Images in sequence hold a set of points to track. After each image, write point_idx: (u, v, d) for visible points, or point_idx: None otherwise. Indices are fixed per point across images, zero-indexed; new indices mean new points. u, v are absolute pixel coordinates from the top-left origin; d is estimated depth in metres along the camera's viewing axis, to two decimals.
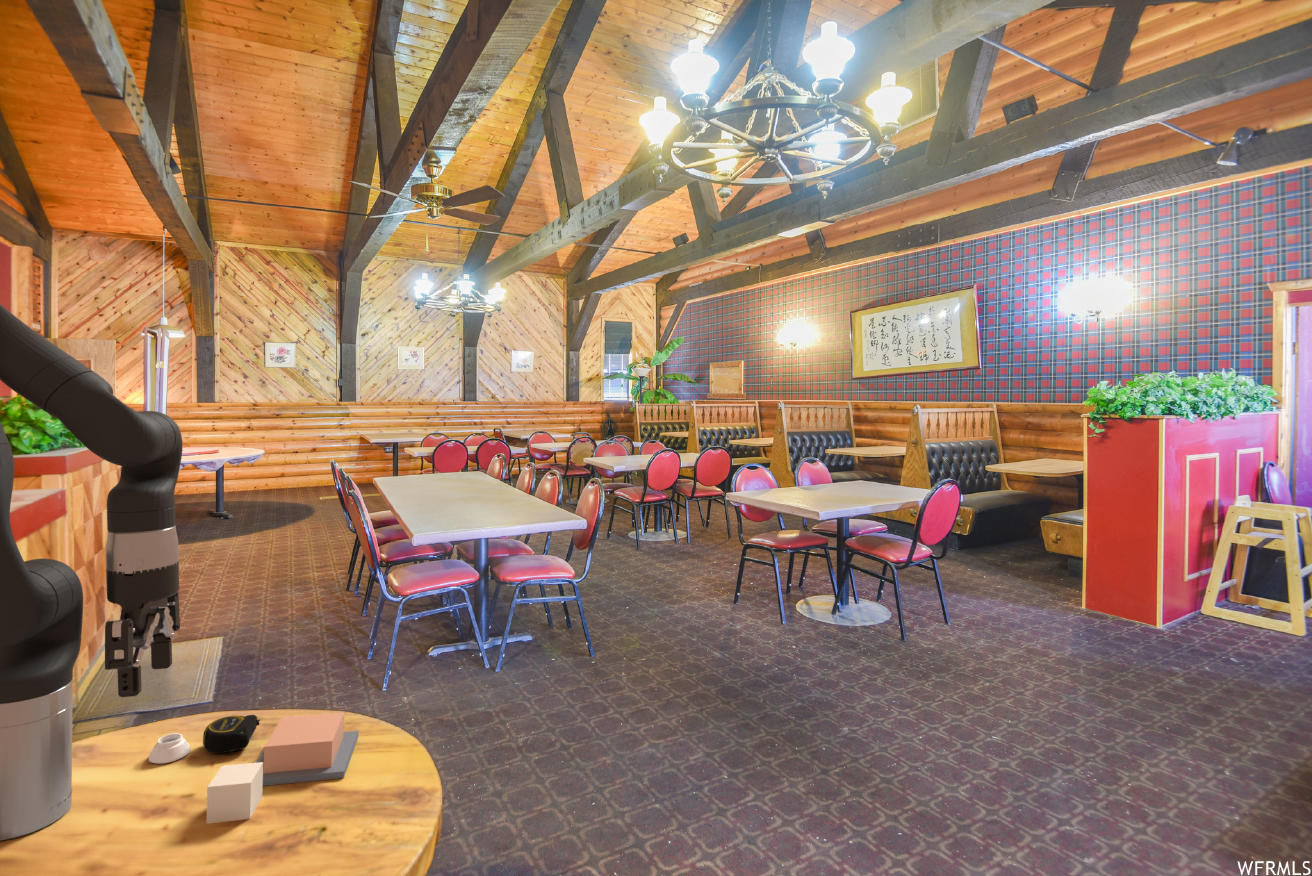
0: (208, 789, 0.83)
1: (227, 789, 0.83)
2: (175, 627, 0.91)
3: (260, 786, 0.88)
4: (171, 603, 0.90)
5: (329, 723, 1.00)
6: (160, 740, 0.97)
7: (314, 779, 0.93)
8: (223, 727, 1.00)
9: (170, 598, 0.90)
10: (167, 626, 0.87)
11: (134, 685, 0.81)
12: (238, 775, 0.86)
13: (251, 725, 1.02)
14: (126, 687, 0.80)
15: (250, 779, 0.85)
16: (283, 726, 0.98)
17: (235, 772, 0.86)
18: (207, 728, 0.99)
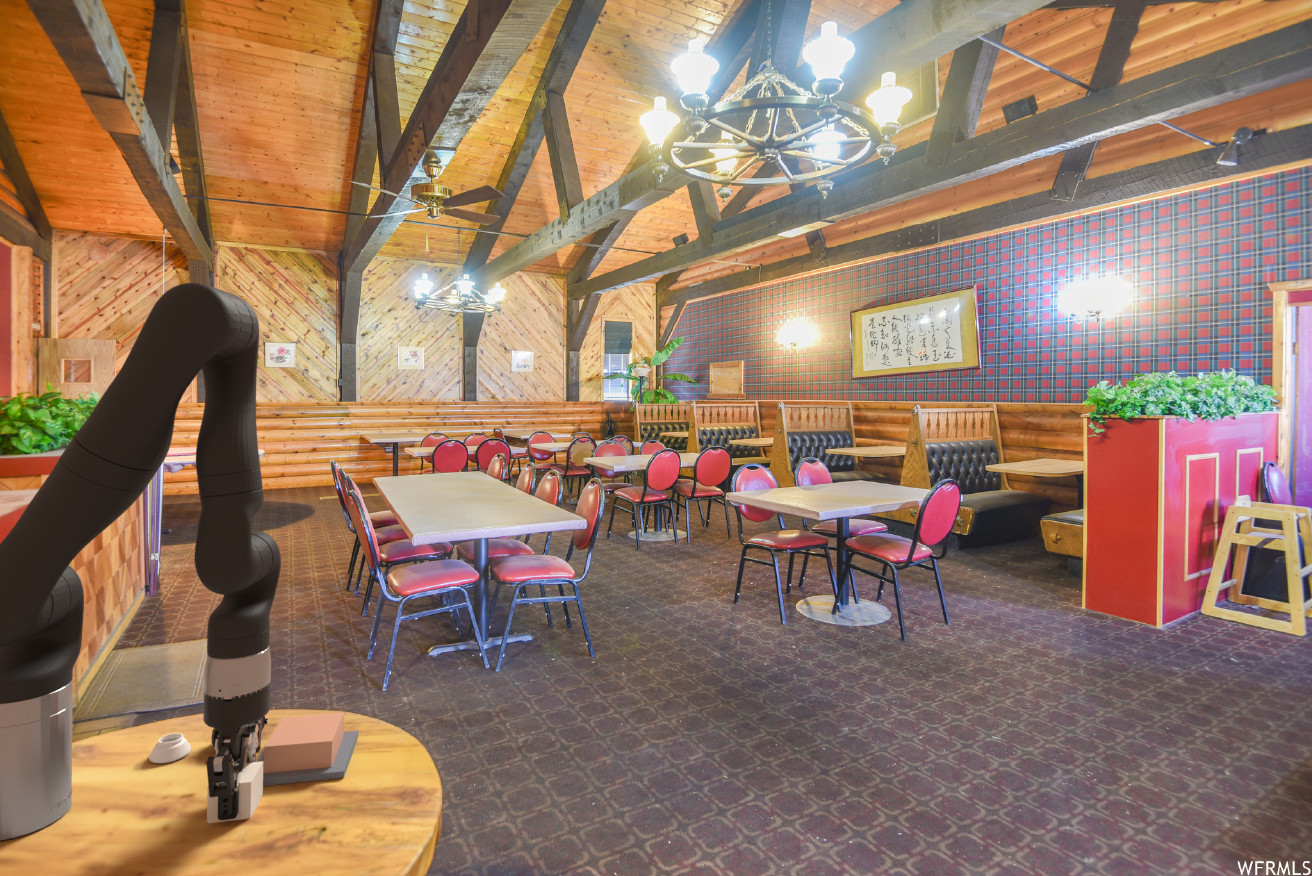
0: (208, 788, 0.83)
1: None
2: (256, 749, 0.90)
3: (260, 785, 0.88)
4: (257, 721, 0.91)
5: (329, 723, 1.00)
6: (161, 740, 0.97)
7: (314, 779, 0.93)
8: None
9: None
10: (253, 747, 0.88)
11: (233, 808, 0.83)
12: None
13: None
14: (226, 811, 0.83)
15: (250, 779, 0.85)
16: (283, 726, 0.98)
17: None
18: None
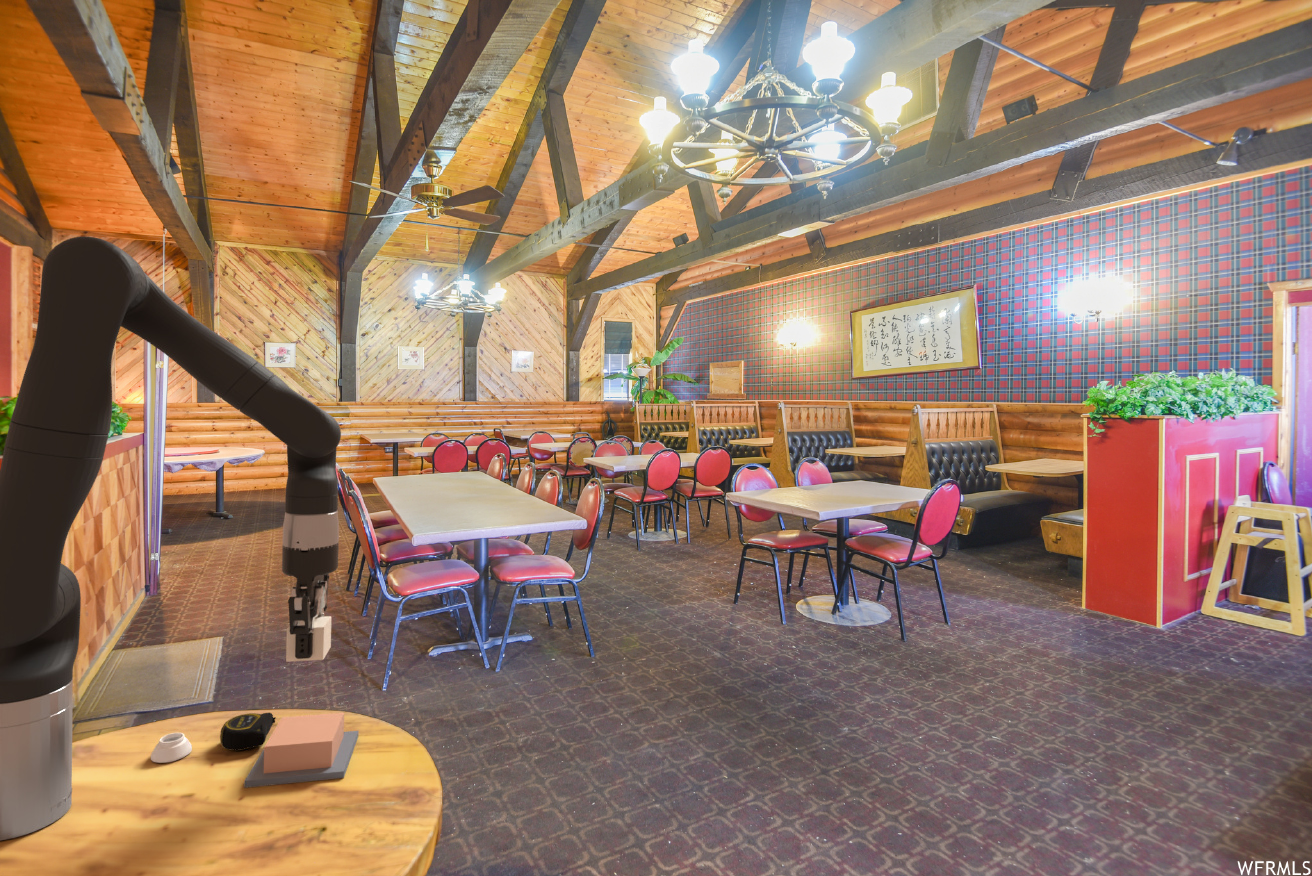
0: (287, 631, 0.94)
1: None
2: (324, 608, 1.02)
3: (329, 636, 0.99)
4: None
5: (329, 723, 1.00)
6: (162, 739, 0.97)
7: (314, 779, 0.93)
8: (240, 724, 1.01)
9: (323, 579, 1.02)
10: (323, 601, 0.99)
11: (308, 648, 0.94)
12: None
13: (267, 723, 1.03)
14: (302, 650, 0.94)
15: (322, 625, 0.96)
16: (283, 726, 0.98)
17: None
18: (224, 725, 1.00)
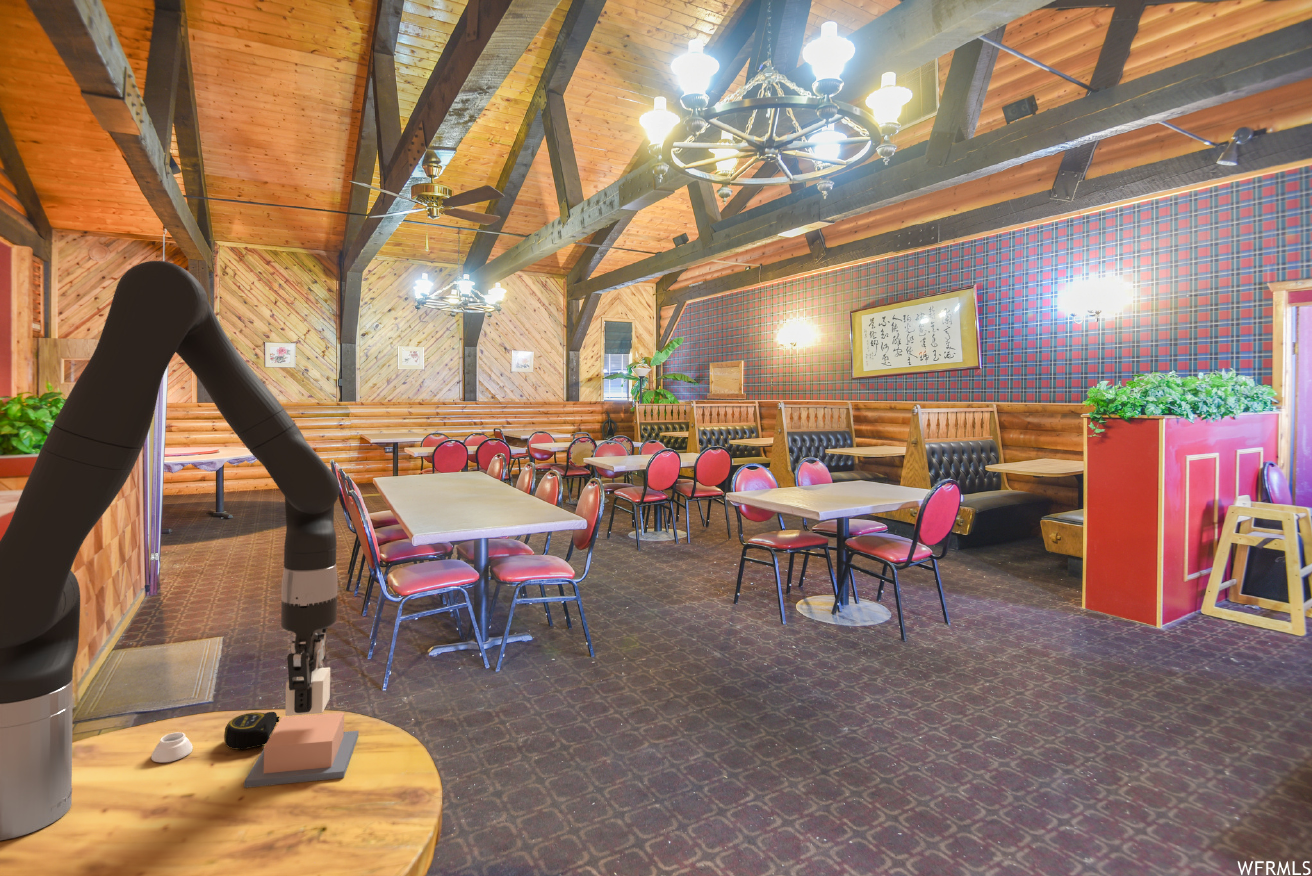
0: (286, 685, 0.95)
1: None
2: (323, 658, 1.02)
3: (328, 688, 1.00)
4: None
5: (329, 723, 1.00)
6: (163, 739, 0.97)
7: (314, 779, 0.93)
8: (244, 723, 1.01)
9: (322, 629, 1.03)
10: (322, 653, 0.99)
11: (307, 702, 0.95)
12: None
13: (271, 722, 1.03)
14: (301, 704, 0.94)
15: (321, 678, 0.96)
16: (283, 726, 0.98)
17: None
18: (228, 724, 1.01)
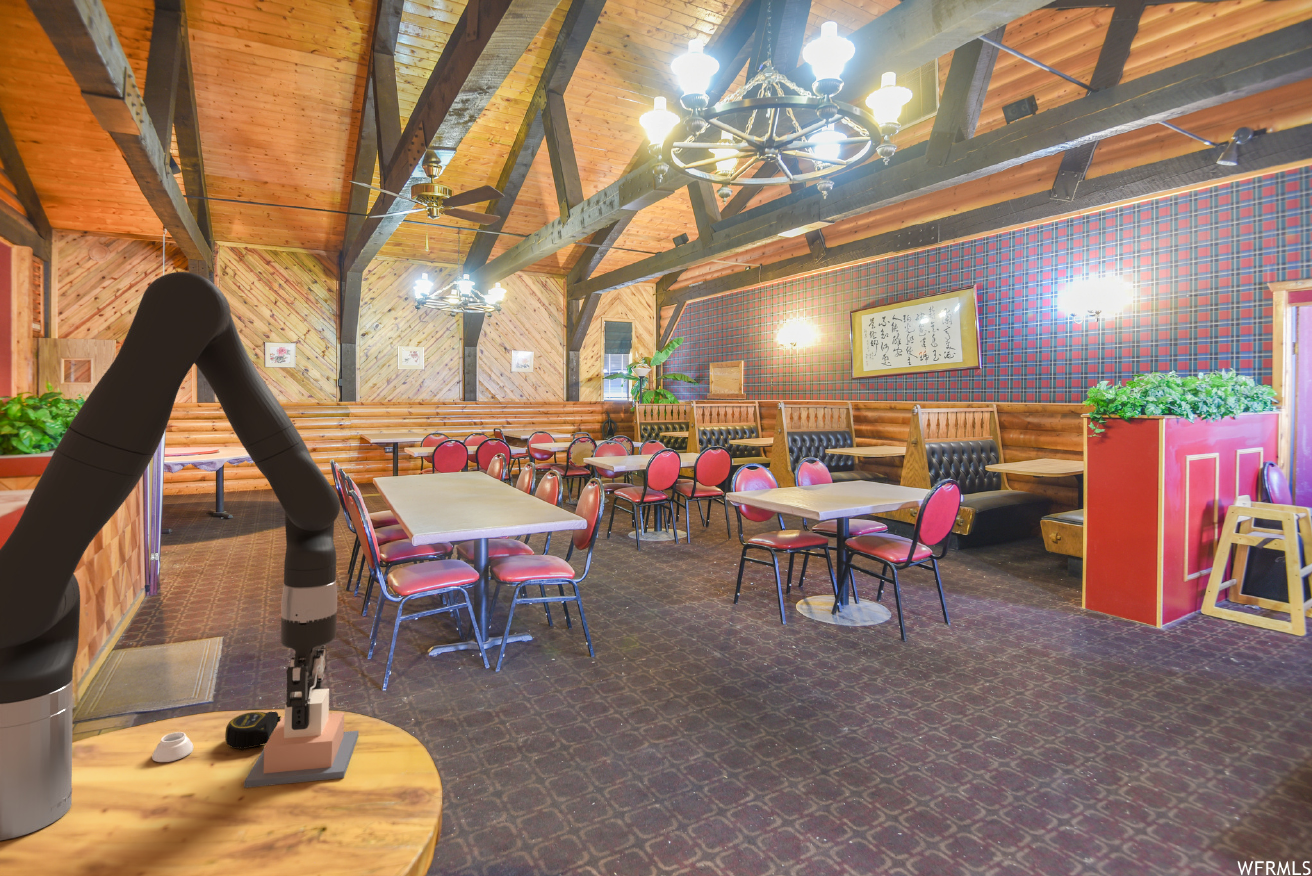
0: (285, 707, 0.95)
1: None
2: (323, 668, 1.03)
3: (327, 709, 1.00)
4: (322, 646, 1.03)
5: (329, 723, 1.00)
6: (163, 739, 0.98)
7: (314, 779, 0.93)
8: (245, 723, 1.02)
9: None
10: (322, 667, 1.00)
11: (305, 719, 0.94)
12: None
13: (272, 721, 1.04)
14: (298, 721, 0.94)
15: (320, 701, 0.97)
16: (283, 726, 0.98)
17: None
18: (229, 723, 1.01)
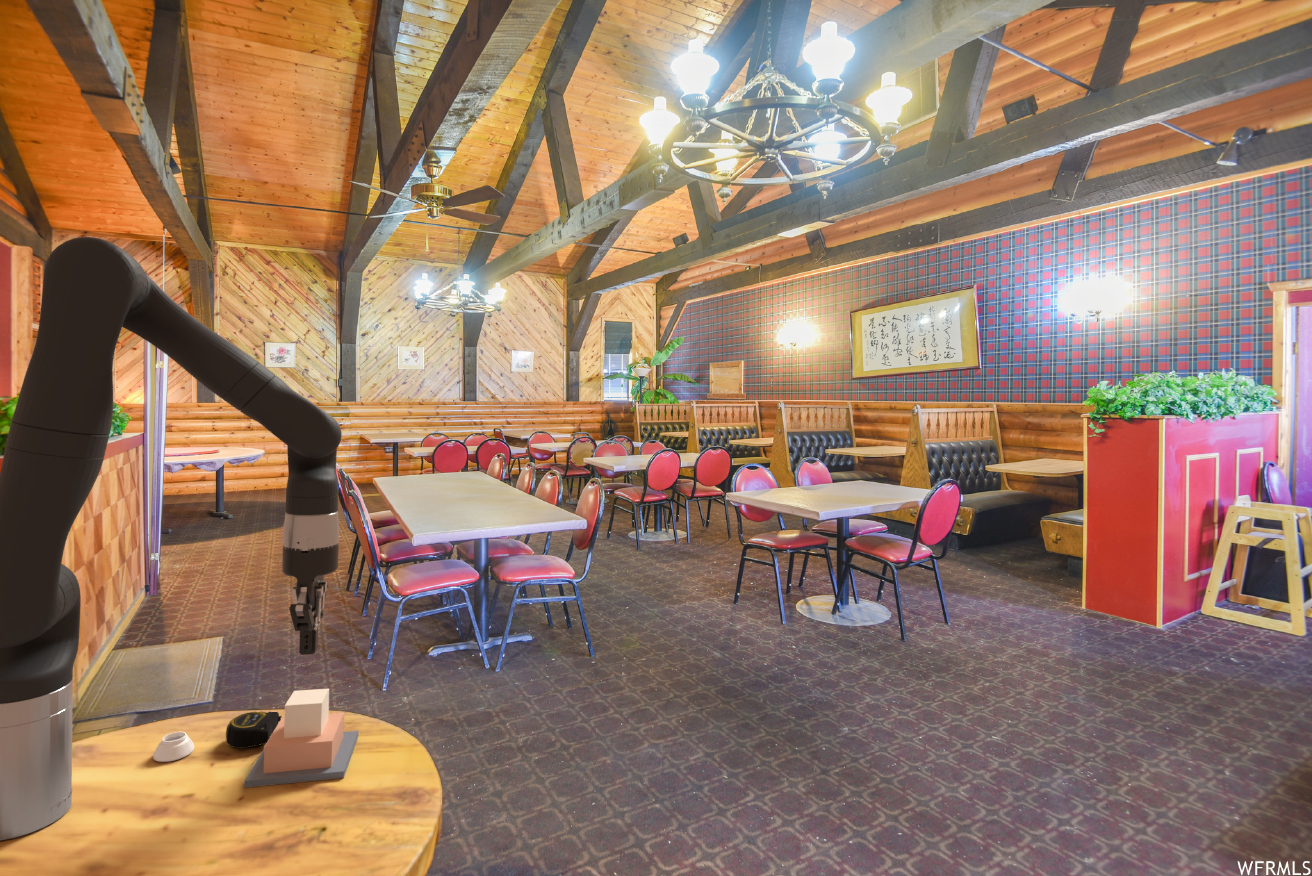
0: (285, 707, 0.95)
1: (302, 708, 0.95)
2: (320, 615, 0.99)
3: (327, 709, 1.00)
4: None
5: (329, 723, 1.00)
6: (164, 738, 0.98)
7: (314, 779, 0.93)
8: (245, 722, 1.02)
9: None
10: (321, 603, 0.98)
11: (312, 645, 0.97)
12: (310, 697, 0.98)
13: (272, 721, 1.04)
14: (306, 646, 0.96)
15: (320, 701, 0.97)
16: (283, 726, 0.98)
17: (306, 695, 0.98)
18: (230, 723, 1.01)
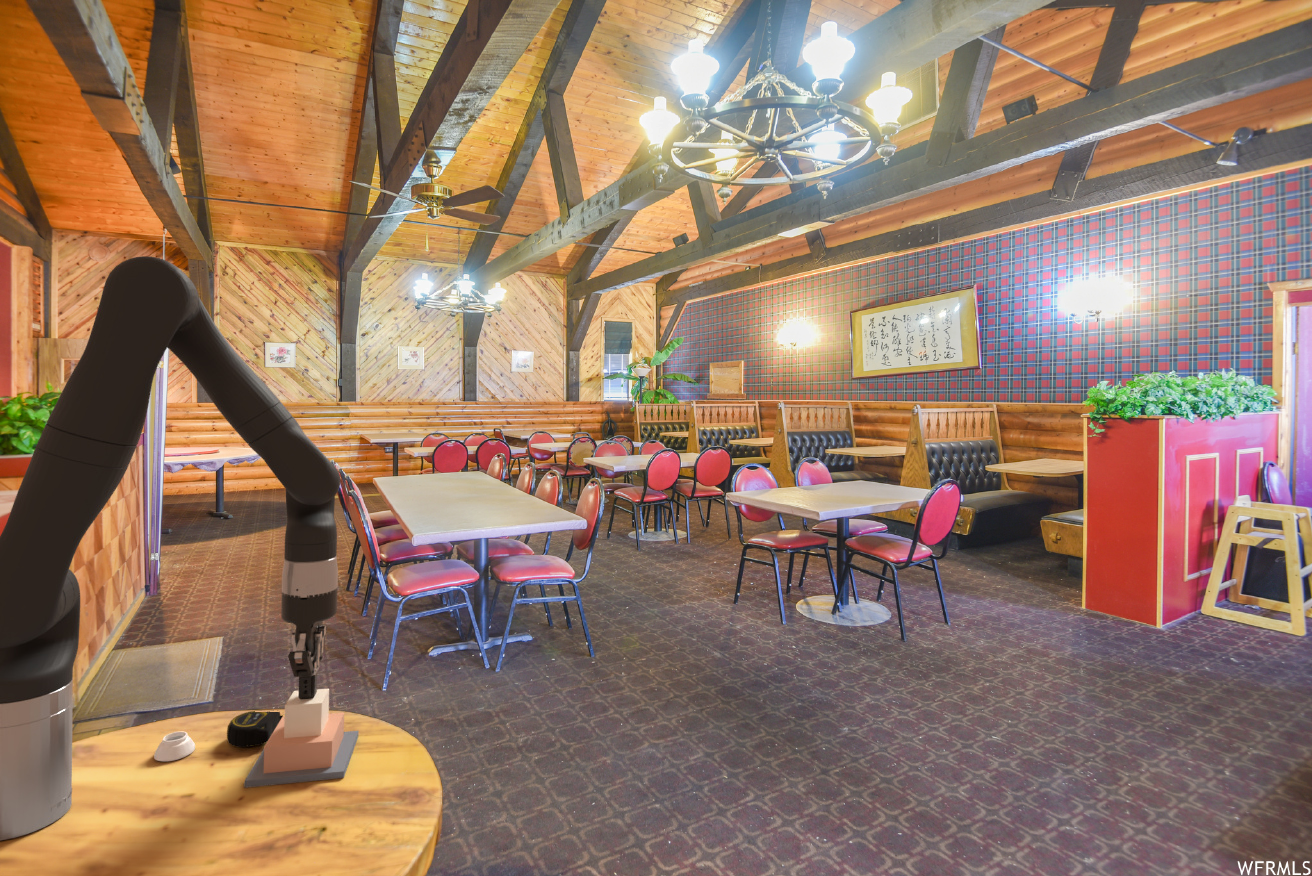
0: (285, 707, 0.95)
1: (302, 708, 0.95)
2: (319, 658, 1.00)
3: (327, 709, 1.00)
4: None
5: (329, 723, 1.00)
6: (165, 738, 0.98)
7: (314, 779, 0.93)
8: (246, 721, 1.02)
9: None
10: (320, 648, 0.98)
11: (311, 689, 0.97)
12: None
13: (273, 721, 1.04)
14: (305, 691, 0.97)
15: (320, 701, 0.97)
16: (283, 726, 0.98)
17: None
18: (231, 722, 1.01)
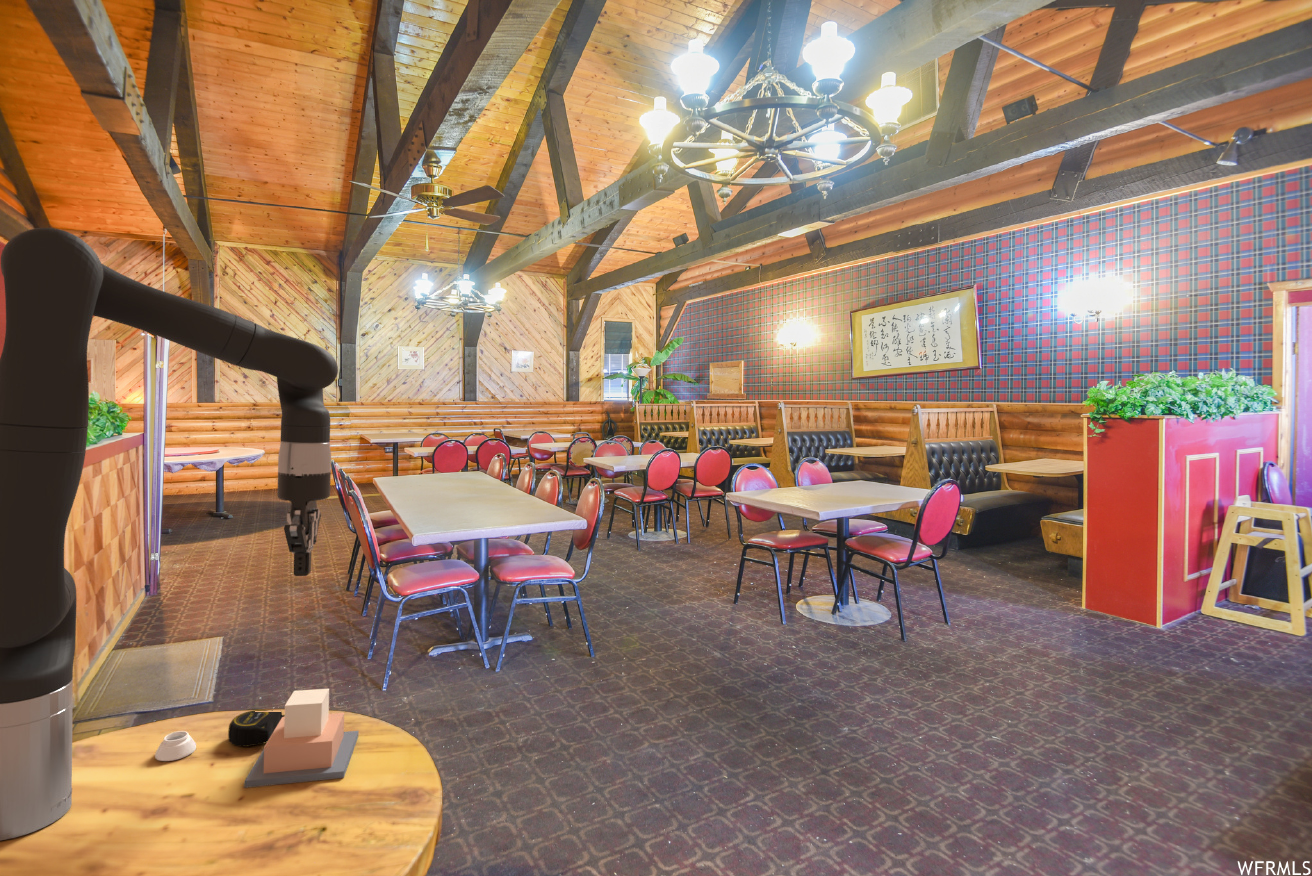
0: (285, 707, 0.95)
1: (302, 708, 0.95)
2: (313, 541, 1.06)
3: (327, 709, 1.00)
4: None
5: (329, 723, 1.00)
6: (166, 738, 0.98)
7: (314, 779, 0.93)
8: (247, 721, 1.02)
9: None
10: (314, 529, 1.04)
11: (306, 567, 1.03)
12: (310, 697, 0.98)
13: (274, 720, 1.04)
14: (300, 568, 1.03)
15: (320, 701, 0.97)
16: (283, 726, 0.98)
17: (306, 695, 0.98)
18: (232, 721, 1.02)
